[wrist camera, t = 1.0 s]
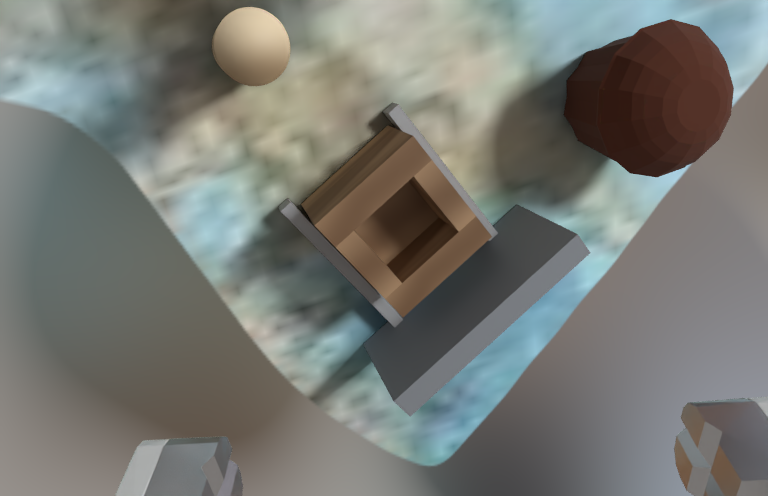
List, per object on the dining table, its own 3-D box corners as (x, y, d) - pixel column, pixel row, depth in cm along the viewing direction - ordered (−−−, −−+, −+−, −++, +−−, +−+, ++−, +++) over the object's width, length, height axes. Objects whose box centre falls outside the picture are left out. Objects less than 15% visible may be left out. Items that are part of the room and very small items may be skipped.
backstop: (248, 233, 44) (258, 275, 36) (422, 75, 44) (471, 81, 36) (377, 357, 51) (409, 416, 43) (528, 220, 51) (590, 252, 43)
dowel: (206, 19, 39) (207, 9, 30) (266, 14, 40) (285, 4, 31) (217, 80, 40) (221, 89, 31) (274, 75, 41) (294, 82, 32)
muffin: (687, 80, 51) (791, 87, 42) (612, 185, 52) (698, 214, 43) (602, -7, 46) (699, -20, 37) (522, 111, 48) (597, 125, 39)
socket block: (301, 204, 45) (314, 225, 39) (387, 125, 45) (413, 135, 39) (380, 287, 49) (403, 317, 43) (459, 215, 49) (492, 236, 43)
